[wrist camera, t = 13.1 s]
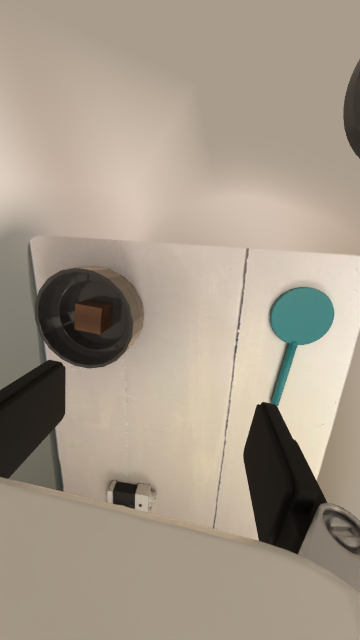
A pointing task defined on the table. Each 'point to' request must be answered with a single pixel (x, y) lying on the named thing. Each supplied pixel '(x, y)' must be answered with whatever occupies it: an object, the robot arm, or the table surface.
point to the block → (93, 316)
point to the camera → (131, 496)
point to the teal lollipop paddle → (299, 324)
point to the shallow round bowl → (60, 315)
